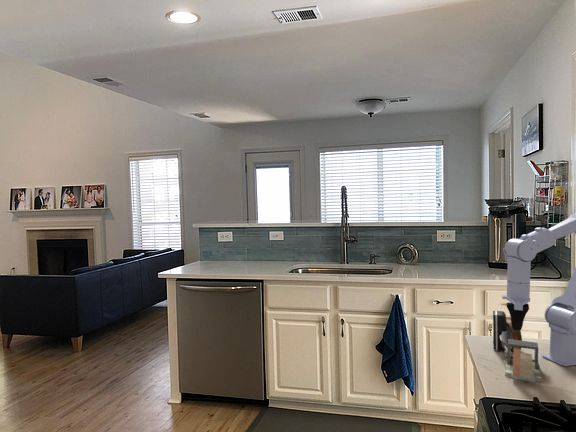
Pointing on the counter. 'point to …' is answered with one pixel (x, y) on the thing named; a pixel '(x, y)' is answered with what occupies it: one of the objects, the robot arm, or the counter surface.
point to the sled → (522, 366)
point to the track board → (509, 366)
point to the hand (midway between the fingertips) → (516, 329)
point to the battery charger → (499, 329)
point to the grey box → (523, 345)
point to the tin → (510, 334)
